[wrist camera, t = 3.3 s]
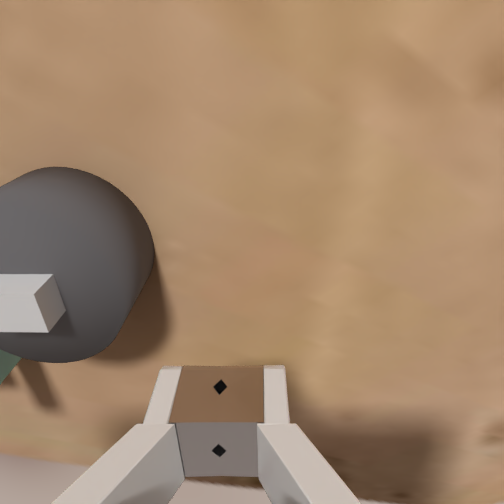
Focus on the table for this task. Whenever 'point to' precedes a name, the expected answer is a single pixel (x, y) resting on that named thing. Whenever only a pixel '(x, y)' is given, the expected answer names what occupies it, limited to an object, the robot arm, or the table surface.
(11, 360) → the cable holder
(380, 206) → the table surface
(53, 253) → the dark grey rounded dome
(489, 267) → the table surface
